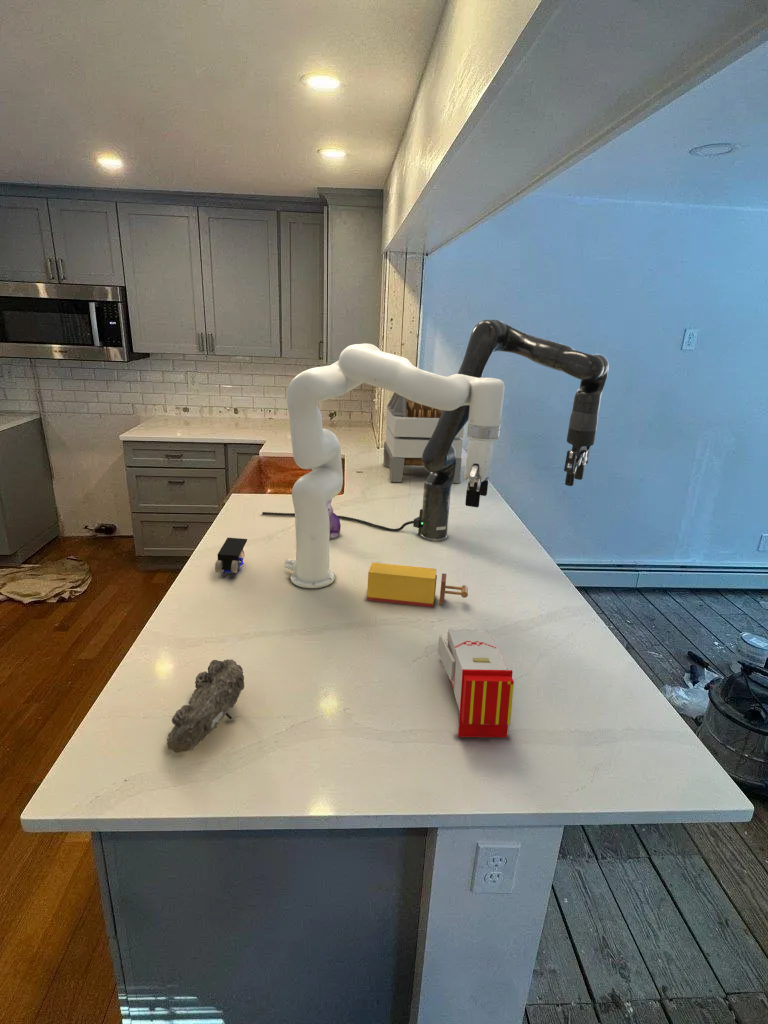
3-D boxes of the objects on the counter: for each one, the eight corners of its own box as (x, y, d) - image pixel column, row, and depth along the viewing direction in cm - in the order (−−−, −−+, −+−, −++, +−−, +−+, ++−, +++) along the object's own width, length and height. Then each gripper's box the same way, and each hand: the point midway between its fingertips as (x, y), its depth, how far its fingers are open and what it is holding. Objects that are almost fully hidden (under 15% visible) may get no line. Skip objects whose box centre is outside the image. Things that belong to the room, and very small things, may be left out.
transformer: (382, 463, 289) (386, 382, 275) (445, 464, 293) (451, 384, 279) (390, 482, 257) (394, 392, 243) (460, 483, 261) (468, 394, 247)
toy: (488, 613, 130) (523, 677, 101) (484, 667, 133) (517, 744, 104) (435, 612, 130) (455, 676, 101) (432, 666, 133) (451, 743, 103)
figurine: (320, 542, 189) (321, 500, 184) (310, 531, 198) (309, 490, 193) (346, 538, 193) (347, 496, 188) (335, 528, 202) (335, 488, 197)
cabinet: (434, 596, 157) (436, 568, 155) (433, 607, 152) (435, 578, 149) (370, 589, 160) (371, 562, 157) (367, 600, 154) (368, 571, 151)
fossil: (192, 660, 117) (244, 628, 112) (224, 691, 120) (276, 661, 115) (142, 746, 98) (202, 712, 93) (182, 779, 101) (242, 748, 96)
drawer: (466, 597, 156) (468, 576, 153) (466, 606, 151) (469, 584, 149) (384, 589, 158) (385, 567, 156) (382, 597, 154) (383, 575, 151)
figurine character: (238, 584, 162) (249, 557, 175) (236, 562, 158) (247, 536, 172) (215, 584, 161) (227, 556, 175) (212, 561, 158) (225, 535, 171)
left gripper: (475, 424, 142) (468, 488, 148) (459, 436, 127) (452, 508, 133) (505, 427, 140) (497, 493, 146) (492, 440, 125) (484, 513, 131)
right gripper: (577, 422, 167) (568, 474, 173) (561, 428, 156) (552, 484, 162) (603, 425, 163) (593, 479, 169) (588, 433, 152) (578, 490, 158)
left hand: (476, 500), depth 139 cm, fingers open, 9 cm apart
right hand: (573, 482), depth 165 cm, fingers open, 8 cm apart
